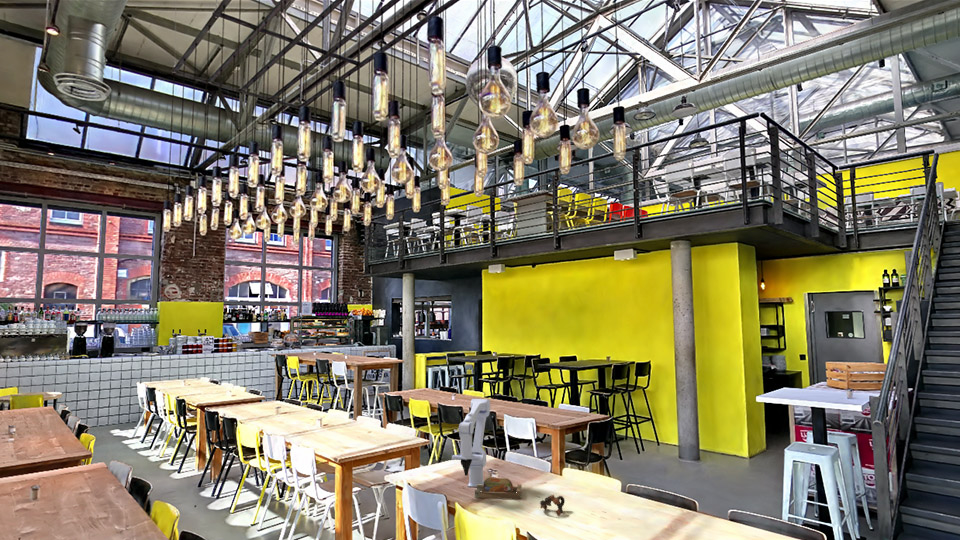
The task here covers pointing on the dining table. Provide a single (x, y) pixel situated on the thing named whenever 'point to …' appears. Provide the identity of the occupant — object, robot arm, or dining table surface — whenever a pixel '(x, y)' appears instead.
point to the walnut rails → (499, 493)
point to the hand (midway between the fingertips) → (466, 475)
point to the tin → (497, 485)
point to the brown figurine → (555, 501)
